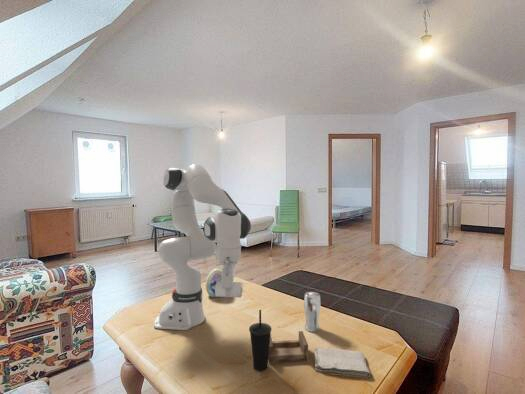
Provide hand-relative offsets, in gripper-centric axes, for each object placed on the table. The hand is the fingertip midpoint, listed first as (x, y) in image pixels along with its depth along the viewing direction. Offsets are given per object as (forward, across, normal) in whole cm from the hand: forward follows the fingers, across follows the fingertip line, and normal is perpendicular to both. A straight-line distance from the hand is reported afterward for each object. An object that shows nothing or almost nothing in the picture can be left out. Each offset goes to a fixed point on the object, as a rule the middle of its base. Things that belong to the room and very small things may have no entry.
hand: (228, 291), depth 101 cm
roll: (-1, 0, 0) cm, 1 cm away
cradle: (+24, -2, -21) cm, 32 cm away
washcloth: (+24, -8, -39) cm, 47 cm away
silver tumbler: (+24, +15, -35) cm, 46 cm away
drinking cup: (+24, -8, -11) cm, 28 cm away
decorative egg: (+26, +55, +10) cm, 62 cm away
